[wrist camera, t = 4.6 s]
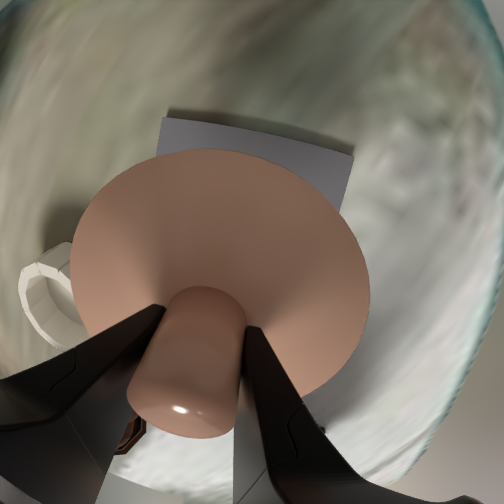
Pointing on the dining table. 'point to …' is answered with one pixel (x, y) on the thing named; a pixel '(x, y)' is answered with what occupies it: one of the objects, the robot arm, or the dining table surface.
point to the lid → (219, 279)
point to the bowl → (52, 298)
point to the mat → (263, 152)
